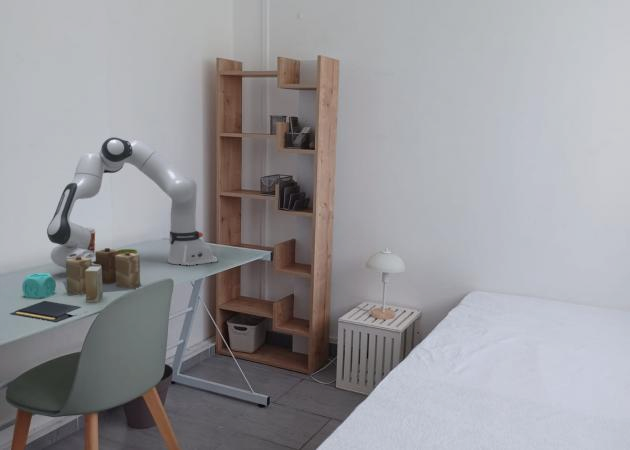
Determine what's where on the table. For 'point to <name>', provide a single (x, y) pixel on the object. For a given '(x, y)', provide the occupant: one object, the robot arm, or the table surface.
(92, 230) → the coffee cup
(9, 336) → the table surface
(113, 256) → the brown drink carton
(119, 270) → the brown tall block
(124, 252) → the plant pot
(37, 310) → the dark grey book
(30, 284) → the decorative dice
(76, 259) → the light brown wooden canister
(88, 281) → the skincare box
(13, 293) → the table surface
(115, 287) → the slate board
